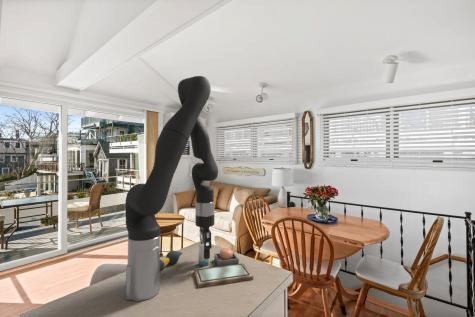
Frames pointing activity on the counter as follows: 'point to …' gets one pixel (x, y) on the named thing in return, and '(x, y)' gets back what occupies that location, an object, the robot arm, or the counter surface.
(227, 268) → the framed mirror
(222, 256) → the button
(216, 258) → the button housing
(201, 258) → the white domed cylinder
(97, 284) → the counter surface
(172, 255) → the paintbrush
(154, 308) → the counter surface
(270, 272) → the counter surface
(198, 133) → the robot arm
